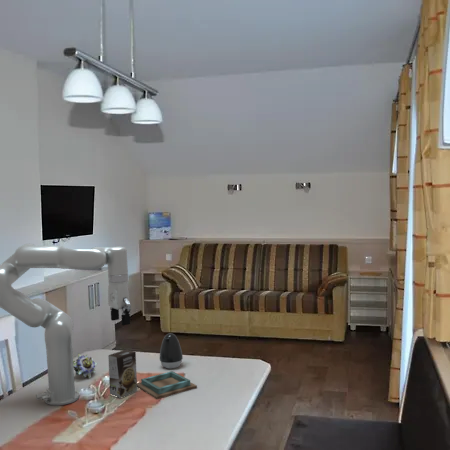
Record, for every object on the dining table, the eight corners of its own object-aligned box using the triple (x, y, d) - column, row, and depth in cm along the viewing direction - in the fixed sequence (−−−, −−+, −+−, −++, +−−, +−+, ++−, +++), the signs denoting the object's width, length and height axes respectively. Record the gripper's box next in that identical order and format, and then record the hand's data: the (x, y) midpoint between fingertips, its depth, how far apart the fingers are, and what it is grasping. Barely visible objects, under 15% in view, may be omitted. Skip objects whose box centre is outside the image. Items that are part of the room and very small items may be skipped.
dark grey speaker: (156, 370, 239) (154, 336, 238) (165, 362, 249) (164, 329, 248) (177, 371, 236) (176, 337, 235) (186, 363, 246) (184, 330, 245)
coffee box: (120, 399, 208) (118, 357, 207) (109, 395, 212) (107, 354, 211) (138, 391, 215) (136, 351, 214) (126, 388, 219) (125, 348, 218)
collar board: (156, 399, 206) (156, 391, 206) (135, 386, 221) (135, 379, 220) (196, 387, 216) (196, 380, 216) (174, 375, 231) (173, 369, 231)
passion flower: (89, 390, 233) (81, 373, 225) (69, 382, 237) (60, 366, 229) (104, 369, 240) (97, 352, 233) (84, 362, 245) (76, 345, 237)
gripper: (100, 277, 215) (102, 319, 216) (118, 282, 201) (121, 328, 202) (117, 274, 219) (119, 316, 221) (137, 280, 205) (139, 324, 207)
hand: (120, 322), depth 212 cm, fingers open, 9 cm apart
